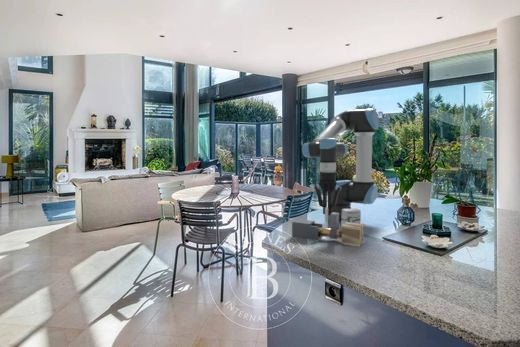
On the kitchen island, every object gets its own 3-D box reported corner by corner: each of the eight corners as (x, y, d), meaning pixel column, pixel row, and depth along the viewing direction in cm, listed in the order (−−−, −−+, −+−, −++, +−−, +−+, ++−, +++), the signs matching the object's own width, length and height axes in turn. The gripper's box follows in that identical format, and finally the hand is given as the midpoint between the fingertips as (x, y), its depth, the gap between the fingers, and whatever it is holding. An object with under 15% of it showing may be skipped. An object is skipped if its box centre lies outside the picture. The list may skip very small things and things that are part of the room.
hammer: (311, 233, 164) (311, 210, 163) (348, 238, 155) (348, 213, 154) (308, 235, 160) (308, 211, 159) (345, 240, 151) (346, 215, 150)
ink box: (345, 233, 168) (345, 210, 167) (340, 231, 173) (341, 208, 172) (360, 232, 170) (361, 209, 169) (355, 230, 175) (356, 208, 174)
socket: (346, 239, 158) (346, 222, 157) (363, 242, 154) (363, 223, 153) (341, 244, 151) (341, 225, 150) (359, 246, 147) (359, 227, 146)
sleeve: (297, 233, 169) (297, 219, 168) (322, 236, 163) (322, 221, 162) (292, 237, 163) (292, 221, 162) (317, 240, 157) (317, 224, 156)
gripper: (311, 171, 155) (311, 221, 157) (339, 172, 149) (338, 224, 151) (317, 170, 162) (316, 218, 164) (343, 171, 155) (343, 221, 157)
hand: (327, 221), depth 157 cm, fingers closed
